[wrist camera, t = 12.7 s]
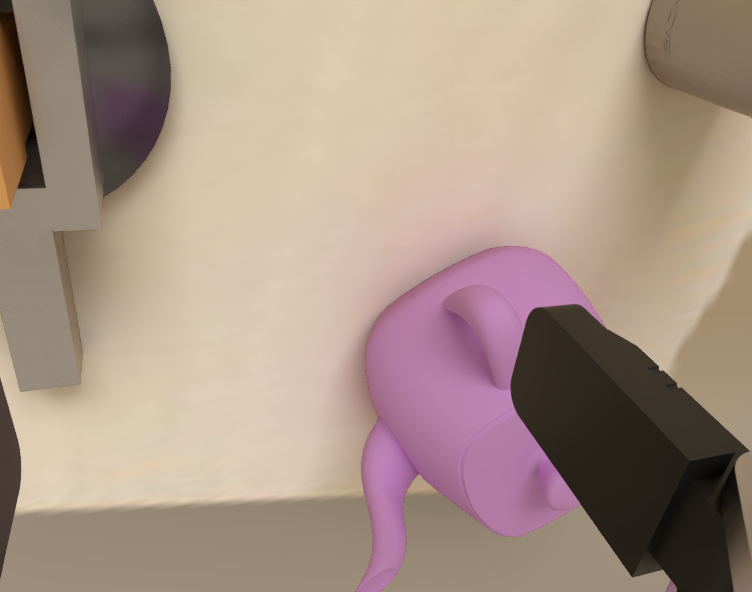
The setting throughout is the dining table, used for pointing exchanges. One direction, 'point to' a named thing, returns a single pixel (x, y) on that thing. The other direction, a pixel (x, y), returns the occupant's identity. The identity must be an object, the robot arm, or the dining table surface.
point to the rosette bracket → (73, 160)
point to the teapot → (459, 401)
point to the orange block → (12, 110)
